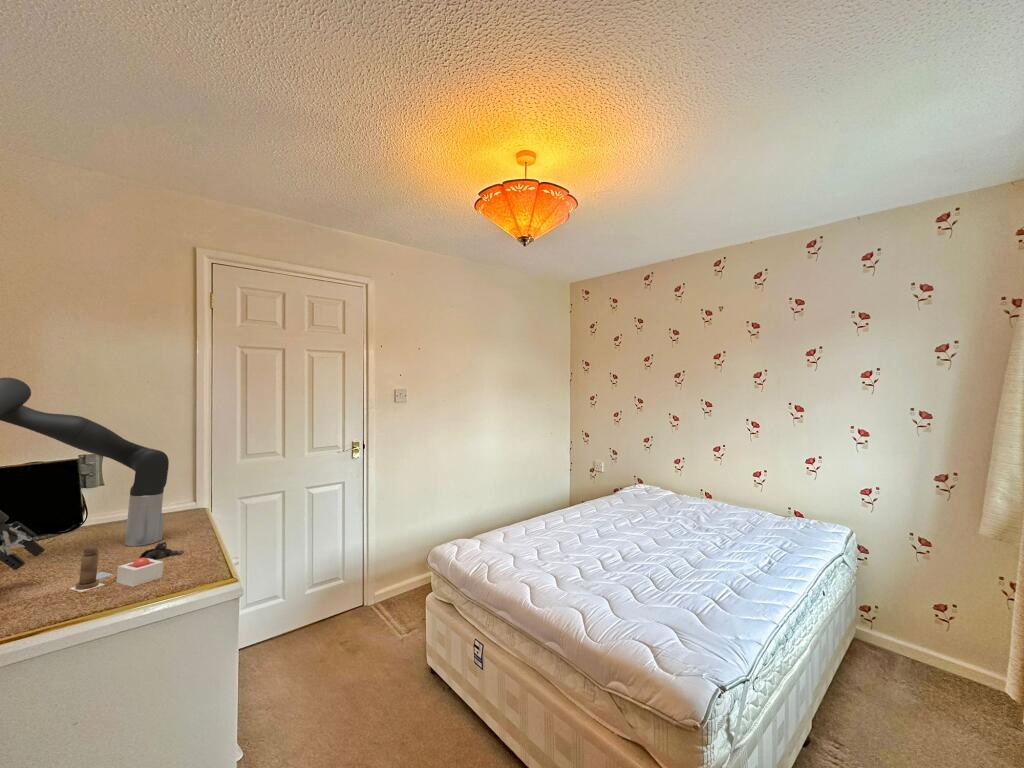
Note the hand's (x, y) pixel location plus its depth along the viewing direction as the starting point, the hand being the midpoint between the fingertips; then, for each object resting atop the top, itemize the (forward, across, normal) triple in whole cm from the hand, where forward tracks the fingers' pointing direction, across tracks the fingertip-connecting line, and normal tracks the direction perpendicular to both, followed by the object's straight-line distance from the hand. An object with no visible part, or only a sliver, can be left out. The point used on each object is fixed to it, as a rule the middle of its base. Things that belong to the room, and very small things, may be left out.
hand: (31, 560), depth 108 cm
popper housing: (+22, +1, +11) cm, 24 cm away
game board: (+17, 0, +6) cm, 18 cm away
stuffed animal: (+23, -18, +10) cm, 31 cm away
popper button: (+21, +1, +12) cm, 24 cm away
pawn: (+14, +2, +4) cm, 14 cm away
